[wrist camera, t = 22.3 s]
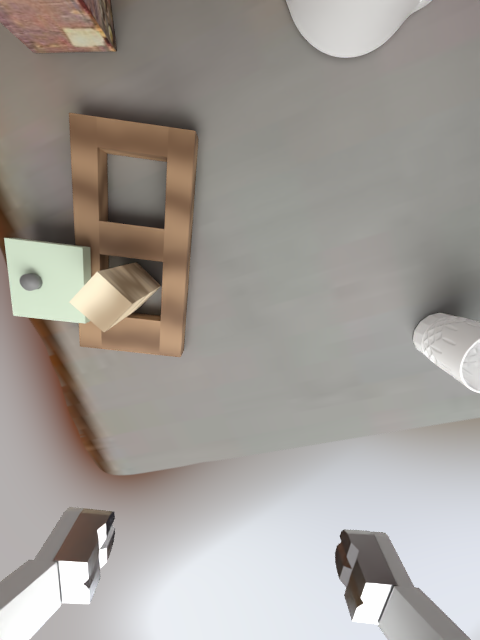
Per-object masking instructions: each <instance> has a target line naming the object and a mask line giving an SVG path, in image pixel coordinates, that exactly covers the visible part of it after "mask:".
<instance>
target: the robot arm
mask: <svg viewBox="0 0 480 640" xmlns="http://www.w3.org/2000/svg"><path fill="white" fill-rule="evenodd" d="M431 1H432V0H286V2H287V5H288V8H289V11H290V14H291V16H292V19H293V21H294V23H295V25H296V26H297V28H298V30H299V31H300V33H301V34H302V35H303V37H304V38H305V39H306V40H307V41H308V42H309V43H310V44H311V45H312V46H314V47H315V48H316V49H318V50H320V51H321V52H323V53H325V54H328V55H331V56H335V57H341V58H350V57H357V56H361V55H364V54H367V53H369V52H371V51H373V50H375V49H377V48H378V47H380V46H381V45H382V44H384V43H385V42H386V41H387V40H388V39H389V38H390V37H391V36H392V35H393V34H394V33H395V32H396V31H397V30H398V28H399V27H400V26H401V25H402V23H403V22H404V21H405V20H406V19H407V18H408V17H409V16H410V15H411V14H412V13H414V12H416V11H417V10H419V9H421V8H423V7H424V6H426V5H427V4H429V3H430V2H431ZM114 519H115V515H114V512H112V511H104V510H93V509H85V508H73V507H69V508H68V509H67V510H66V511H65V512H64V513H63V515H62V517H61V518H60V520H59V521H58V523H57V524H56V526H55V528H54V529H53V531H52V532H51V534H50V536H49V537H48V539H47V540H46V542H45V543H44V545H43V547H42V548H41V550H40V551H39V553H38V554H37V556H36V558H35V559H34V560H28V561H27V562H26V563H24V564H23V565H22V566H20V567H19V568H18V569H17V570H15V571H14V572H13V573H11V574H10V575H9V576H7V577H6V578H5V579H3V580H2V581H1V582H0V640H29V639H30V638H31V637H32V636H33V635H34V634H35V633H36V632H37V631H38V630H39V629H40V628H41V627H42V625H43V624H44V623H45V622H46V621H47V620H48V619H49V618H50V617H51V616H52V615H53V613H54V612H55V611H56V610H57V609H58V608H59V607H60V606H61V603H74V604H90V602H91V600H92V597H93V595H94V592H95V590H96V587H97V585H98V583H99V580H100V568H101V567H102V566H103V565H104V564H105V563H106V562H107V560H108V558H109V555H110V552H111V549H112V545H113V542H114V535H115V528H114V527H113V526H112V524H113V522H114ZM340 539H341V543H340V544H339V545H338V546H337V548H336V552H335V563H336V568H337V572H338V576H339V579H340V580H341V582H342V583H343V584H344V585H345V586H346V591H345V595H344V596H345V599H346V603H347V606H348V609H349V612H350V616H351V619H352V621H354V622H364V623H374V624H379V625H378V627H379V628H380V629H381V631H382V632H383V633H384V635H385V636H386V638H387V639H388V640H471V639H470V638H469V637H468V636H467V635H466V634H465V633H464V632H463V631H462V630H461V629H460V628H459V627H458V626H457V625H456V624H455V623H454V622H453V621H452V620H451V619H450V618H449V617H447V615H446V614H445V613H444V612H443V611H442V610H440V608H439V607H438V606H436V605H435V603H434V602H433V601H431V600H430V598H429V597H427V596H426V595H425V594H424V593H423V592H422V591H421V590H420V589H419V588H415V587H414V586H413V584H412V582H411V580H410V578H409V576H408V574H407V572H406V570H405V568H404V566H403V564H402V562H401V560H400V558H399V556H398V554H397V552H396V551H395V549H394V547H393V545H392V543H391V541H390V539H389V537H388V536H387V535H386V533H383V532H370V531H359V530H343V531H342V532H341V534H340Z"/></svg>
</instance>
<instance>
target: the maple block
mask: <svg viewBox="0 0 480 640" xmlns="http://www.w3.org/2000/svg"><path fill="white" fill-rule="evenodd" d="M160 287H161V285H160V284H159V283H158V282H157V281H156V280H155V279H153V278H152V277H151V276H150V275H149V274H148V273H147V272H146V271H145V270H144V269H143V268H142V267H141V266H140V265H139V264H138V263H137V262H135V263H131V264H127V265H122V266H118V267H114V268H110V269H106V270H101V271H97V272H96V273H95V274H94V275H93V277H92V278H91V279H90V280H89V281H88V282H87V283H86V284H85V285H84V286H83V287H82V289H81V290H80V291H79V292H78V293H77V294H76V295H75V296H74V297H73V298H72V300H71V301H70V303H71V304H72V305H73V306H74V307H75V308H76V309H78V310H79V311H80V312H81V313H82V314H83V315H85V316H86V317H87V318H88V319H89V320H90V321H91V322H93V323H94V324H95V325H96V326H97V327H98V328H99V329H101V330H102V331H103V332H106V331H107V330H108V329H110V328H111V327H113V326H114V325H116V324H117V323H118V322H120V321H121V320H123V319H124V318H125V317H127V316H128V315H130V314H131V313H133V312H134V311H135V310H137V309H138V308H140V307H141V306H142V305H143V304H144V303H145V302H146V301H147V300H148V299H149V298H150V297H151V296H152V295H153V294H154V293H155V292H156V291H157V290H158V289H159V288H160Z"/></svg>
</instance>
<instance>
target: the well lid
mask: <svg viewBox="0 0 480 640" xmlns="http://www.w3.org/2000/svg"><path fill="white" fill-rule="evenodd" d="M4 240H5V249H6V257H7V266H8V274H9V283H10V291H11V300H12V309H13V315H14V316H21V317H30V318H39V319H48V320H57V321H66V322H75V323H84V324H86V323H87V322H89V321H90V320H89V319H88V318H87V317H86V316H85V315H83V314H82V313H81V312H80V311H79V310H78V309H76V308H75V307H74V306H73V305H72V304H71V303H70V301H71V300H72V298H73V297H74V296H75V295H76V294H77V293H78V292H79V291H80V290H81V289H82V287H83V286H84V285H85V284H86V283H87V282H88V281H89V280H90V279H91V254H90V247H85V246H77V245H69V244H61V243H53V242H45V241H37V240H28V239H20V238H4Z"/></svg>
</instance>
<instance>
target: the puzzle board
mask: <svg viewBox="0 0 480 640" xmlns="http://www.w3.org/2000/svg"><path fill="white" fill-rule="evenodd" d="M69 123H70V144H71V166H72V187H73V208H74V230H75V245H77V246H85V247H90V254H91V278H92V277H93V275H94V274H95V273H96V272H97V271H101V270H106V269H109V255H111V256H119V257H127V258H136V259H144V260H152V261H160V262H163V275H162V299H161V316H158V315H149V314H141V313H131V314H130V315H128V316H127V317H125V318H124V319H123V320H121V321H120V322H118V323H117V324H116V325H114V326H113V327H111V328H110V329H108V330H107V331H106V332H103V331H102V330H101V329H99V328H98V327H97V326H96V325H95V324H94V323H93V322H91V321H89V322H87V323H86V324H84V323H79V337H80V346H81V347H90V348H100V349H109V350H118V351H127V352H137V353H146V354H155V355H164V356H174V357H181V355H182V353H183V351H184V340H185V325H186V311H187V296H188V282H189V267H190V253H191V238H192V224H193V209H194V195H195V180H196V166H197V151H198V136H197V134H196V131H193V130H186V129H179V128H172V127H165V126H158V125H151V124H144V123H137V122H130V121H123V120H116V119H109V118H102V117H95V116H89V115H82V114H75V113H69ZM107 154H114V155H121V156H128V157H135V158H143V159H150V160H157V161H164V162H167V179H166V203H165V227H164V229H159V228H151V227H143V226H135V225H128V224H120V223H112V222H108V178H107Z"/></svg>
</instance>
